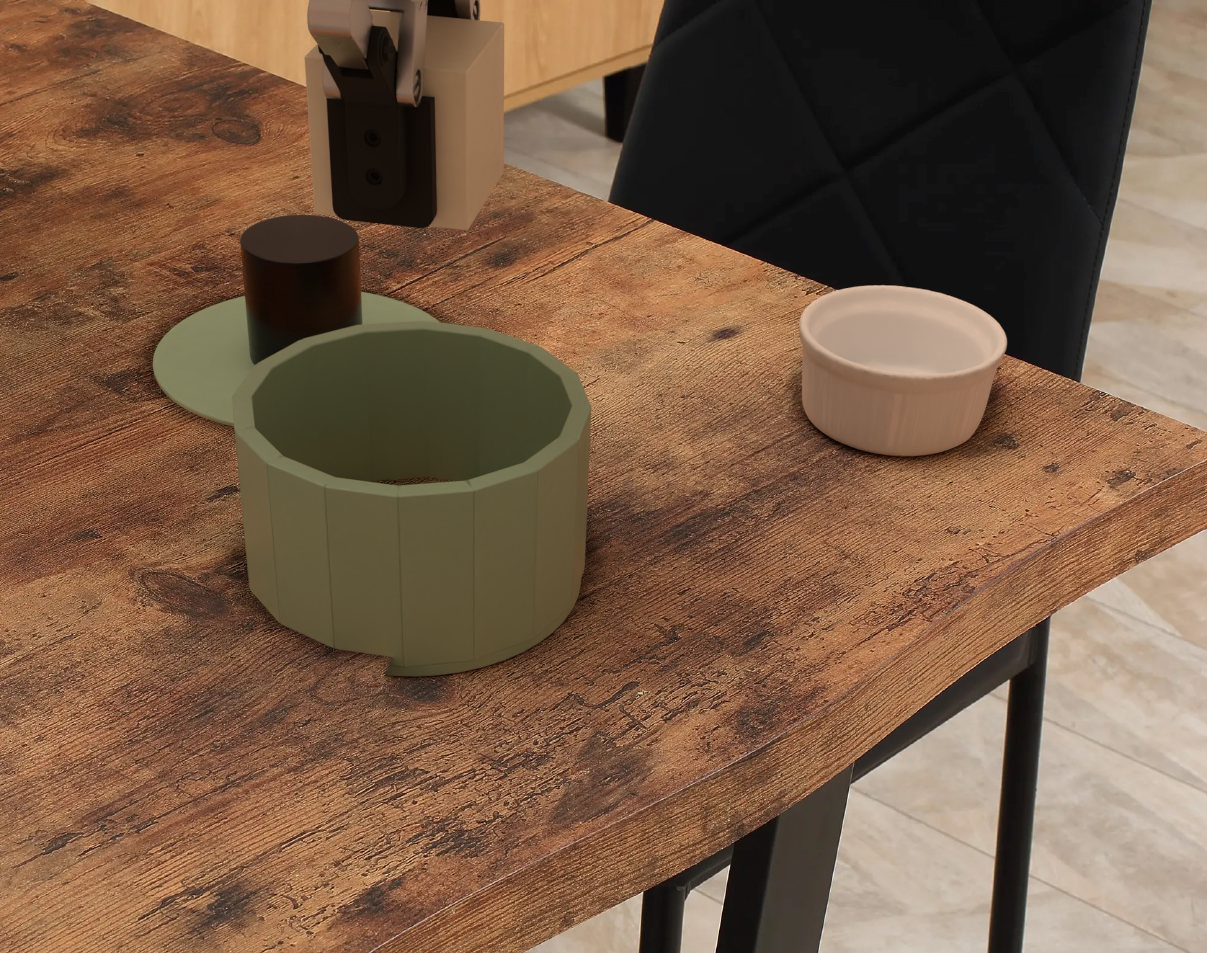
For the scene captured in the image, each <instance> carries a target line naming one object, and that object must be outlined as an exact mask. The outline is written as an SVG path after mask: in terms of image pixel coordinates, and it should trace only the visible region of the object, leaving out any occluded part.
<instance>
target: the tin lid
mask: <svg viewBox="0 0 1207 953" xmlns="http://www.w3.org/2000/svg"><path fill="white" fill-rule="evenodd" d="M239 241H240V242H239V244H240V245H239V246H240V256H241V267H242V268H241V269H242V279H243V291H244V295H242V296H239V297H235V298H231V299H227V300H224V301H221V302H218V303H215V304H213V305H209V306H207V307H205V308H203V309H201V310H199V311H196V312H194V313H193V314H191V315H189V316H187V317H186V318H184V319H182V320H181V321H180V322H178V323H177V324H175V325H174V326H173V327H172V328H170V329H169V331H167V333H165V334H164V336H162V338H161V340H160V341H159V342H158V344H157V345H156V348H155V350H154V353H153V359H152V369H153V370H152V371H153V377H154V379H155V381H156V383H157V385H158V387H159V389H161V390H162V392H163V393H164V394H165V395H166V396H167V397H168V398H169V399H170V400H171V401H173V403H175V404H177V405H178V406H180V407H182V409H185V410H186V411H188V412H189V413H192V414H195V415H196V416H199V417H201V418H203V419H206V420H208V421H212V422H215V423H218V424H221V425H225V426H229V427H233V428H234V419H233V407H232V396H233V394H234V393H235V391H236V390H237V389H238V387H239V386H240V385H241V383H242V382H243V381H244V379H245V378H246V377H247V375H248V374H249V373H250V371H251V370H252V369H253V367H254V366H255V365H256V364H257V363H259V362H261V361H263V360H264V359H266V358H268V357H270V356H272V355H273V354H275V353H277V352H279V351H281V350H283V349H284V348H286V347H288V346H290V345H292V344H293V343H295V342H297V341H299V340H302V339H304V338H308V337H312V336H316V335H320V334H324V333H327V332H331V331H335V330H339V329H343V328H347V327H351V326H355V325H361V324H375V323H392V322H410V321H424V322H425V321H432V322H440V321H439V320H438V319H436V318H435V317H434V316H432V315H431V314H429V313H428V312H426V311H424V310H422V309H420V308H418V307H417V306H414V305H411V304H408V303H406V302H404V301H401V300H398V299H394V298H390V297H387V296H384V295H379V294H374V293H370V292H364V291H362V280H361V254H360V253H361V252H360V236H359V233H358V232H357V230H356V229H355V228H354V227H353V226H352V225H350V224H348V223H347V222H344V221H342V220H339V219H337V218H333V217H328V216H324V215H317V214H316V215H314V214H291V215H290V214H288V215H280V216H275V217H271V218H267V219H264V220H260V221H259V222H256V223H253V224H252V225H249V227H247V228H246V229H245V230H244V231H243V232H242V233H241V236H240V239H239Z"/></svg>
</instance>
